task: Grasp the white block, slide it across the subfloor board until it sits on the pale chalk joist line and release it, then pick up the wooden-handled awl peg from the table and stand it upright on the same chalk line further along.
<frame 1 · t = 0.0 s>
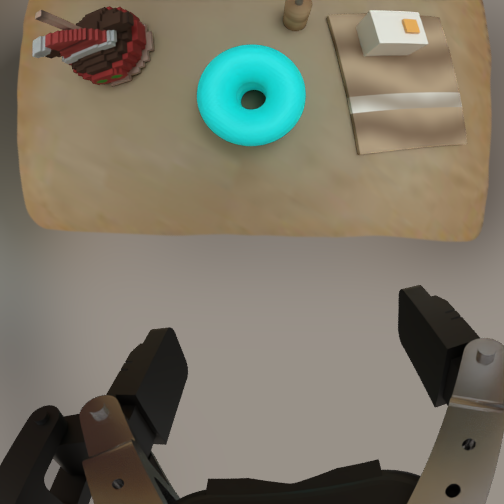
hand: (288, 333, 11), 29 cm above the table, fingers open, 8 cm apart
donuts: (255, 104, 35), on the table
cake: (122, 52, 33), on the table
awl: (294, 21, 31), on the table
subfloor board: (402, 79, 32), on the table
white block: (382, 40, 30), point 1 cm above the table, touching subfloor board
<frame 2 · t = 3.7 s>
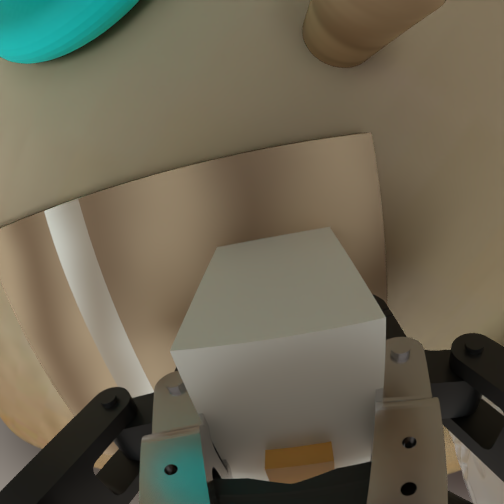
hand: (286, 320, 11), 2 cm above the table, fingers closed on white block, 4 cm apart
white cup: (483, 387, 15), on the table
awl: (339, 34, 10), on the table
subfloor board: (186, 349, 14), on the table
white block: (287, 311, 12), point 1 cm above the table, touching gripper, subfloor board
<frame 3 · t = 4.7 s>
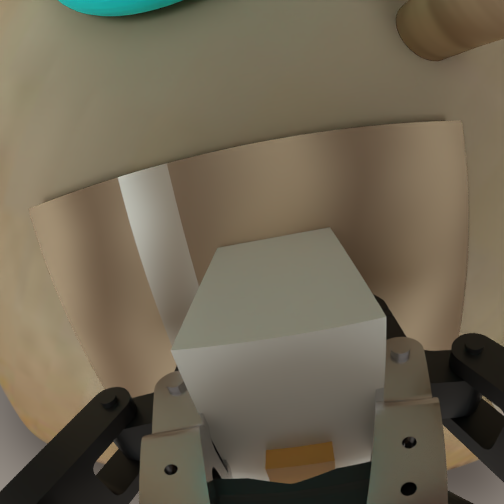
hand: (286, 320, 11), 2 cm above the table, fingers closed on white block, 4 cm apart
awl: (426, 30, 9), on the table
subfloor board: (267, 332, 14), on the table
white block: (287, 311, 12), point 1 cm above the table, touching gripper
when the fingers open (2 cm above the table, at t = 5.8 s): white block stays where it is, resting on subfloor board.
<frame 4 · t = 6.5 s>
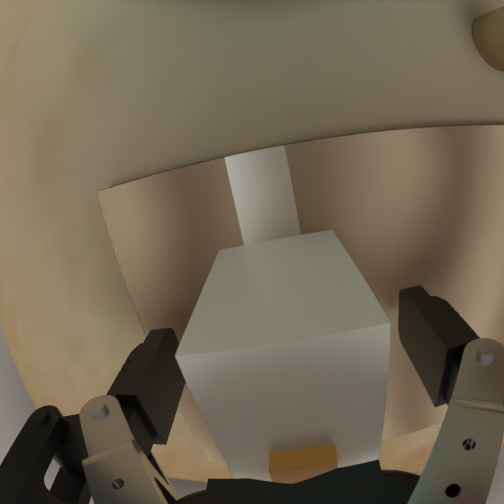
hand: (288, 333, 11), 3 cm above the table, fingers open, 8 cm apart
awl: (494, 43, 9), on the table
subfloor board: (357, 323, 13), on the table
white block: (289, 313, 12), point 1 cm above the table, touching subfloor board
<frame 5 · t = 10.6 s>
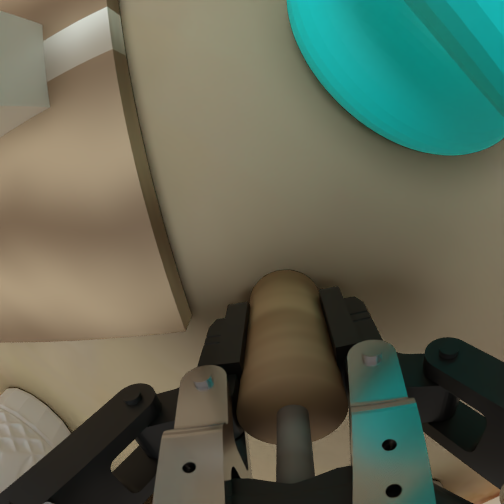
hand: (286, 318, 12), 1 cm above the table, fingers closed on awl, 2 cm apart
white cup: (39, 417, 18), on the table
donuts: (410, 32, 9), on the table
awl: (285, 301, 13), on the table, touching gripper
subfloor board: (0, 165, 11), on the table
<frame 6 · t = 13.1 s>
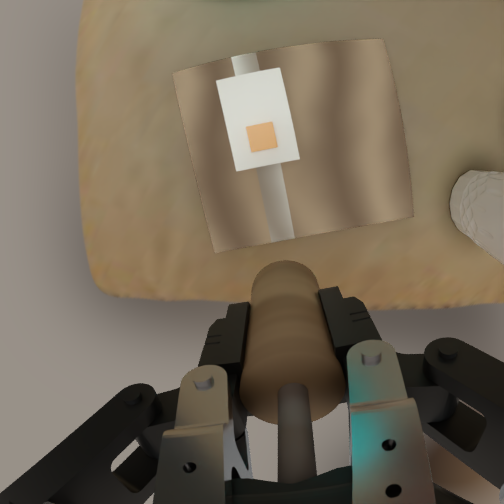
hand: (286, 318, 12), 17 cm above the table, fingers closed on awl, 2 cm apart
white cup: (473, 201, 26), on the table
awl: (285, 291, 13), point 15 cm above the table, touching gripper
subfloor board: (299, 139, 25), on the table
white block: (260, 123, 24), point 1 cm above the table, touching subfloor board
when the fingers open (3 cm above the table, at t = 15.8 s): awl stays where it is, resting on subfloor board.
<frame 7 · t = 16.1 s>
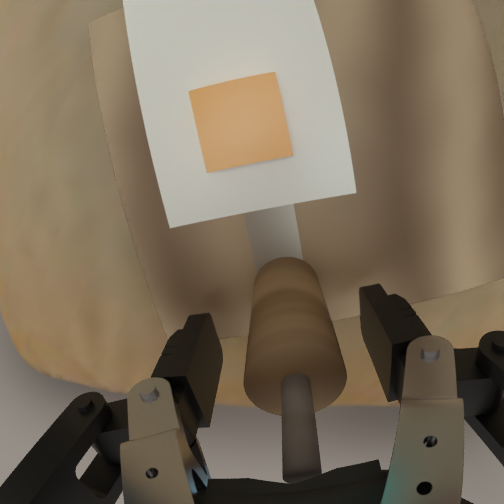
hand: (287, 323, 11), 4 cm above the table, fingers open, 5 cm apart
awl: (286, 287, 14), point 1 cm above the table, touching subfloor board
subfloor board: (327, 136, 13), on the table
white block: (248, 102, 11), point 1 cm above the table, touching subfloor board
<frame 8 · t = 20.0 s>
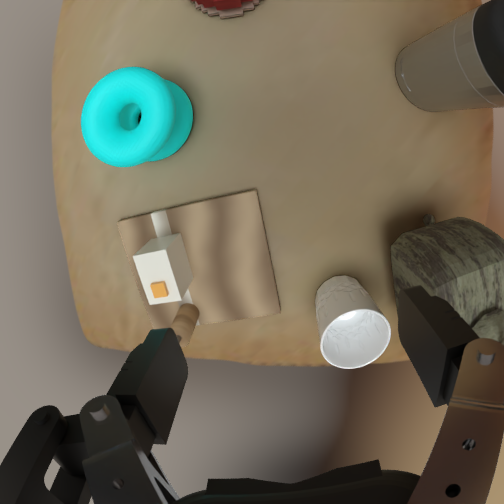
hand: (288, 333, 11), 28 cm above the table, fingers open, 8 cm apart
white cup: (339, 297, 41), on the table
tabletop clock: (412, 260, 39), on the table
donuts: (155, 120, 35), on the table
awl: (189, 312, 42), point 1 cm above the table, touching subfloor board
subfloor board: (199, 265, 41), on the table
white block: (172, 258, 39), point 1 cm above the table, touching subfloor board
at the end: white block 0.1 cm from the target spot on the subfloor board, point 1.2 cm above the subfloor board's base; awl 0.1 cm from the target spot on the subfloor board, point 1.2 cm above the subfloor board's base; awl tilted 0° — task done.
